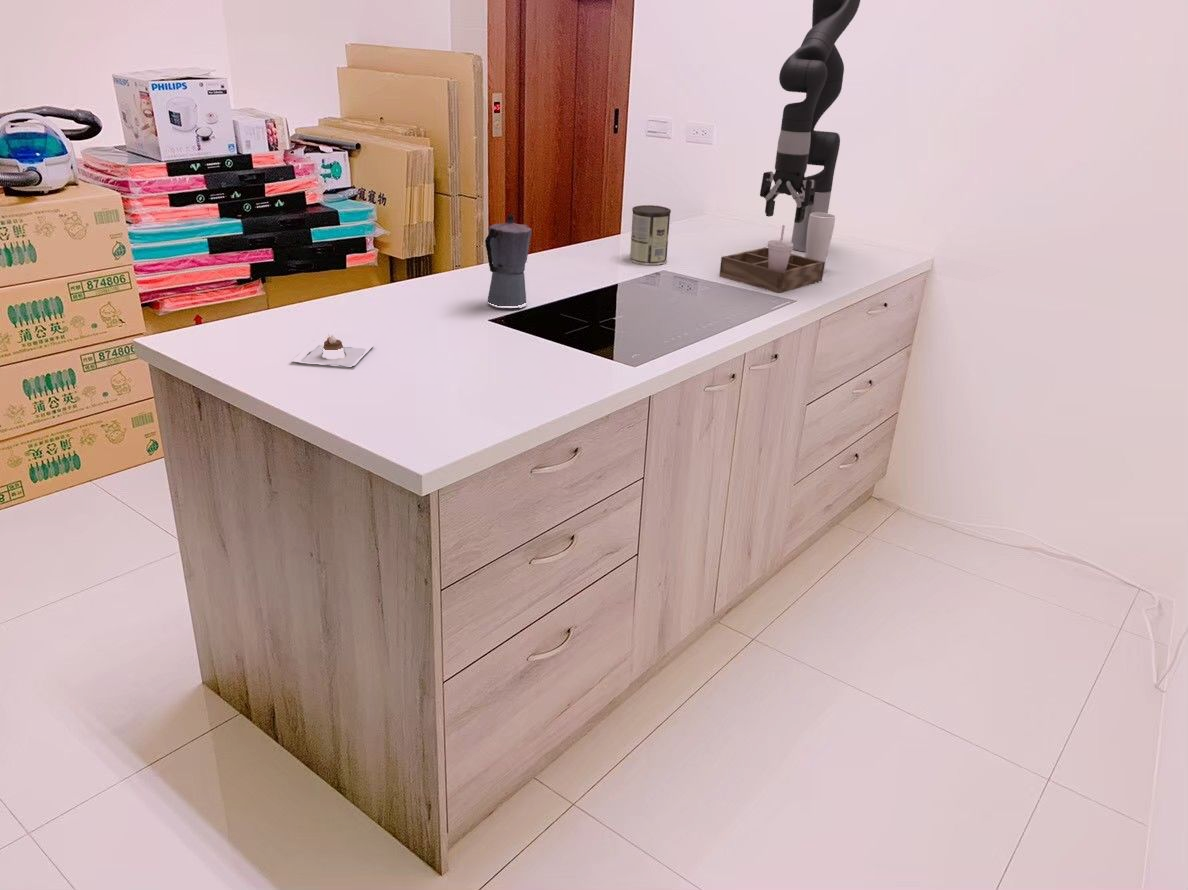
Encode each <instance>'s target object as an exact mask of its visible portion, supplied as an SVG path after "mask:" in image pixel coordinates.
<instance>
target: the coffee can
mask: <svg viewBox="0 0 1188 890" xmlns="http://www.w3.org/2000/svg"><path fill="white" fill-rule="evenodd" d="M631 208H632V209H631V210H632V219H631V232H630V233H631V234H630V236H631V237H630V250H629V251H630V252H629V253H630V254H629V261H630V262H631V263H633V264H636V265H641V266H650V265H654V266H661V265H660V264H662V265H665V264H666V263H667V262H668V261H667V258H668V246H669V245H668V243H669V231H670V219H671V212H672V210H671V209H670V208H669V207H666V206H660V205H652V204H648V205H647V204H646V205H645V204H644V205H636V206H633V207H631ZM664 263H665V264H664Z"/></svg>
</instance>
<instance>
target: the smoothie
mask: <svg viewBox="0 0 1188 890" xmlns="http://www.w3.org/2000/svg"><path fill="white" fill-rule="evenodd" d="M785 227H786V225H783V224H782V225H781V233H780V240H778V239H776V240H770V241H768V243H767V247H766V248H769V252H768V268H769V269H773V270H777V271H780V272H782V271H786V268H787V265H788V261H789V257H790V254H792V251H793V250H794V249H793V244H792V243H791V242H790V241H787V240H784V235H785Z"/></svg>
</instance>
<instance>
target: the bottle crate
mask: <svg viewBox="0 0 1188 890" xmlns="http://www.w3.org/2000/svg"><path fill="white" fill-rule="evenodd" d="M768 252H769V248H768V247H761V248H757V249H751V250H746V251H743V252H738V253H734V254H729V255H724V256H721V258H720V268H719V277H723V278H726V279H730V280H732V281H736V282H740V283H742V282H743V283H744V284H747V285H750V286H754V287H756V286H757V287H756V288H760V287H761V289H763V288H764V290H767V289H768V291H770V290H771V291H772V292H774V293H778V294H780V292H781V293H785V292H788V291H791V289H792V290H795V289H799V288H802V286H803V287H806V286H810V285H813V284H816V283H815V282H817V283H820V282H819V281H821V282H823V278H824V277H823V276H824V271H825V267H824V265H825V266H826V262H822V261H818V260H814V259H810V258H806V257H805V256H801V255H798V254H793V253H791V254H790V257H789V261H788V265H787V268H786V271H782V272H780V271H777V270H773V269H769V268H768ZM809 284H810V285H809ZM805 285H806V286H805ZM787 290H788V291H787ZM784 291H785V292H784Z"/></svg>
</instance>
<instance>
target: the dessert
mask: <svg viewBox="0 0 1188 890" xmlns="http://www.w3.org/2000/svg"><path fill="white" fill-rule="evenodd" d="M327 335H328V337H326V338H327V339H326V340H324V341H325V342H324V346H323V348H324V349H325V350H338V349H341V348H344V347H343V345H342V342H343V341H341V340H339V339H337V338H336V337H335V336H334V335H333V334H332V335H329V334H327ZM323 348H322V349H323Z"/></svg>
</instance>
